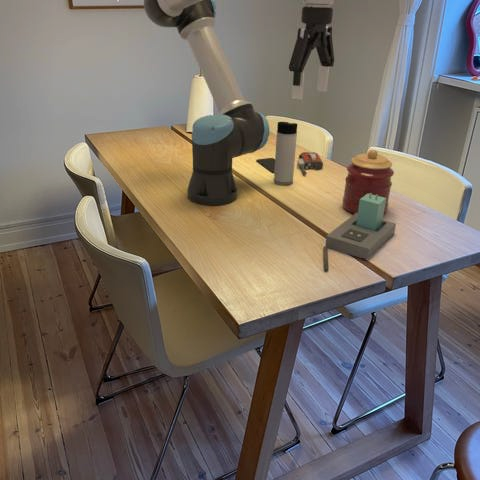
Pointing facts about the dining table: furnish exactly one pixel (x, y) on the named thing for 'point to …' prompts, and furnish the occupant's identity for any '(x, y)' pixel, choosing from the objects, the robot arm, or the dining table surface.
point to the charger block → (371, 212)
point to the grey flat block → (359, 238)
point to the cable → (325, 258)
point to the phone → (267, 164)
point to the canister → (367, 179)
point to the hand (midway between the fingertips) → (309, 95)
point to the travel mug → (285, 153)
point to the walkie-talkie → (309, 161)
